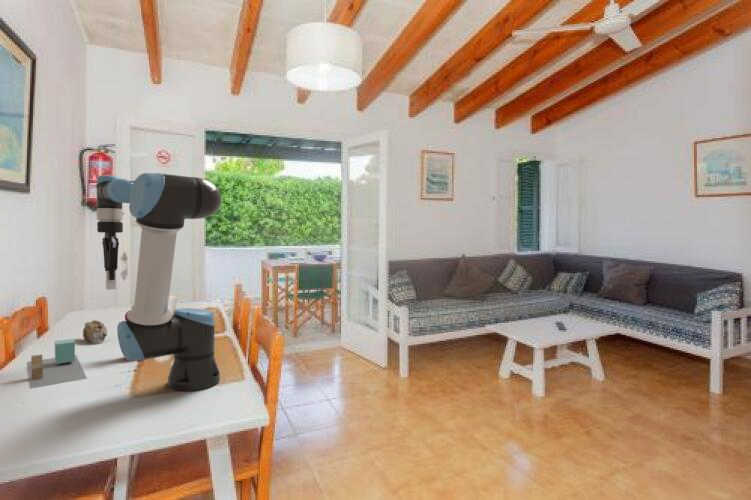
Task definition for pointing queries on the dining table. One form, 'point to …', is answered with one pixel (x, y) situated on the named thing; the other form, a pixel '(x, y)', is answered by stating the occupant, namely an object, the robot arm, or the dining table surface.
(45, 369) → the stand
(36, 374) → the post beech
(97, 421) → the dining table surface
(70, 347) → the mint green foam cube
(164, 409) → the dining table surface
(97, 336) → the rock
